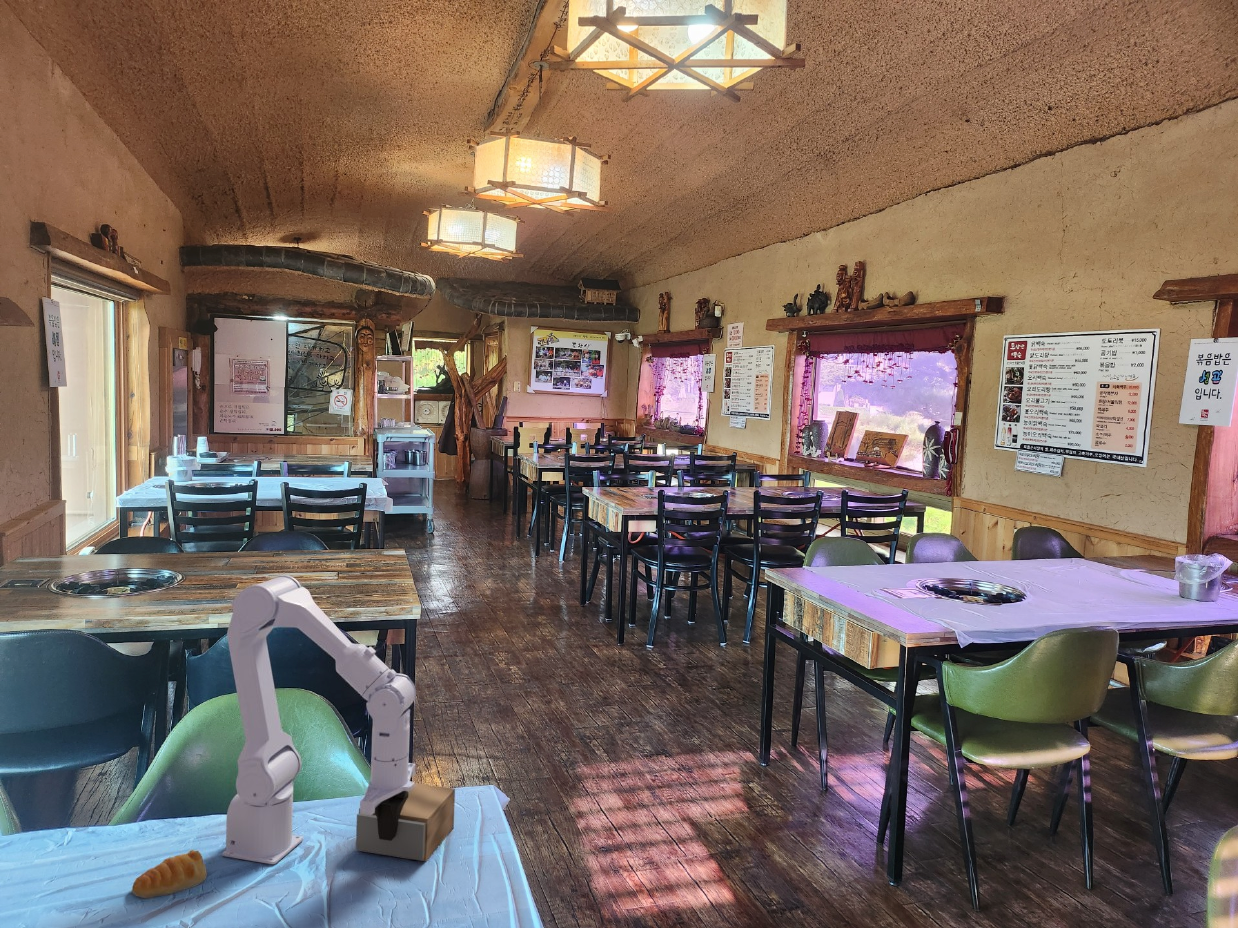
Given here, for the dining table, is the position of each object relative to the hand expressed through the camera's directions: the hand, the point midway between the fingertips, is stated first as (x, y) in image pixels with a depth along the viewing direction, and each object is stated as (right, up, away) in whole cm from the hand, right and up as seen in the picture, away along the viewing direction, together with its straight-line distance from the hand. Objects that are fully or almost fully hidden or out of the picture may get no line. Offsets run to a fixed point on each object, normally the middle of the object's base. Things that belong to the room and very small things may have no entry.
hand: (387, 837), depth 126 cm
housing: (+1, -4, +7) cm, 8 cm away
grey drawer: (+1, -3, +6) cm, 7 cm away
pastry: (-30, -3, -8) cm, 31 cm away
